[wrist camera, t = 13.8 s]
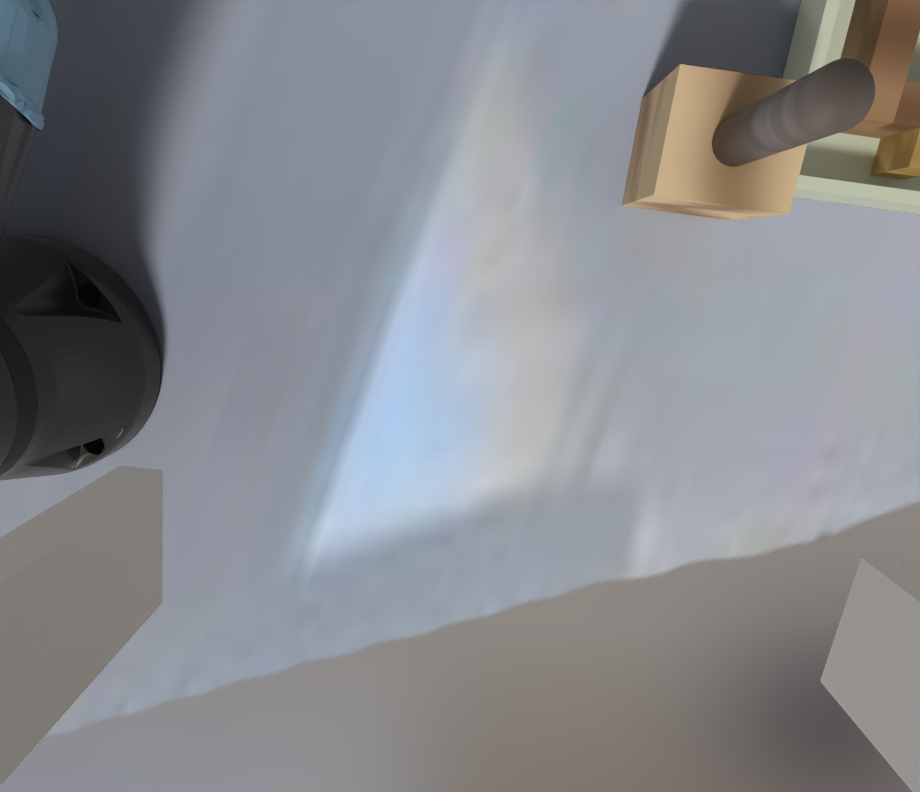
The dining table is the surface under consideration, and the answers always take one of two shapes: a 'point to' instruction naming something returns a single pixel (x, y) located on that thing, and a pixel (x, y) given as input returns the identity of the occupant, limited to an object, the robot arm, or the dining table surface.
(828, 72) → the block with upright handle
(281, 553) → the dining table surface
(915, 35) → the ring
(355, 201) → the dining table surface
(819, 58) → the tray
